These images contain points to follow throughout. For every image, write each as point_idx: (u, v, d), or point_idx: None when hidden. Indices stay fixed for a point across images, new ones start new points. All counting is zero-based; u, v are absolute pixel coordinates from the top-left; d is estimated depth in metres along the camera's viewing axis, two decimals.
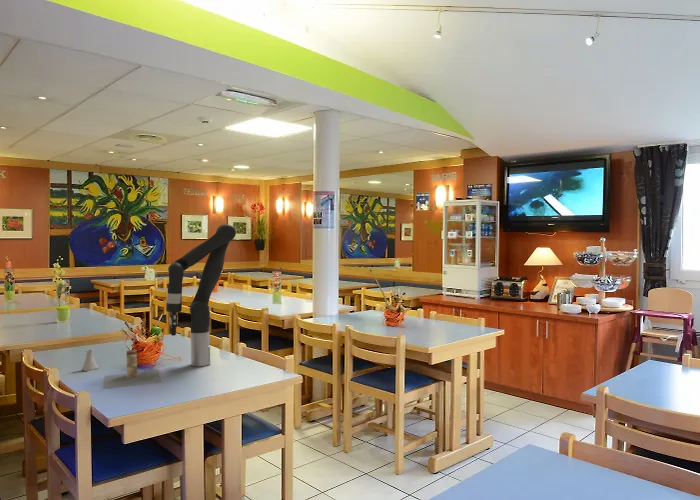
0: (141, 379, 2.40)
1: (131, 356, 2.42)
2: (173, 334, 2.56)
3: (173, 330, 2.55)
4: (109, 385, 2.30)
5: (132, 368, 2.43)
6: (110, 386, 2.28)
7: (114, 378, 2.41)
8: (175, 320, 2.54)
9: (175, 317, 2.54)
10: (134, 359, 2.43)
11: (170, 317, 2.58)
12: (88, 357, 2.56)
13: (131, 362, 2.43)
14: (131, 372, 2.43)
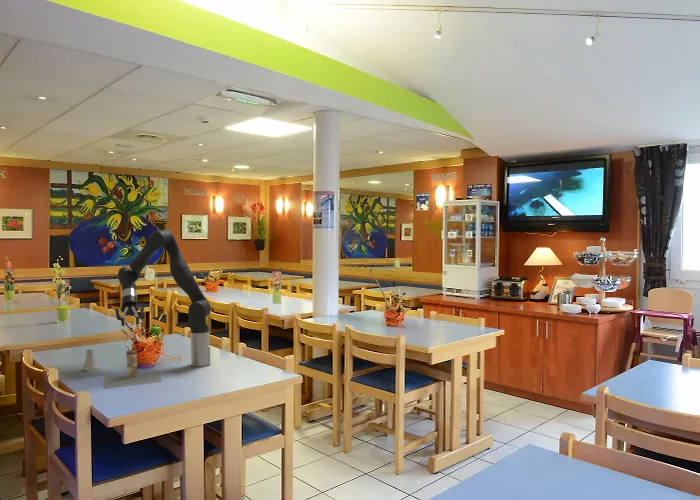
0: (141, 379, 2.40)
1: (131, 356, 2.42)
2: None
3: (121, 321, 2.58)
4: (109, 385, 2.30)
5: (132, 368, 2.43)
6: (110, 386, 2.28)
7: (114, 378, 2.41)
8: (116, 313, 2.60)
9: (115, 311, 2.60)
10: (134, 359, 2.43)
11: None
12: (88, 357, 2.56)
13: (131, 362, 2.43)
14: (131, 372, 2.43)
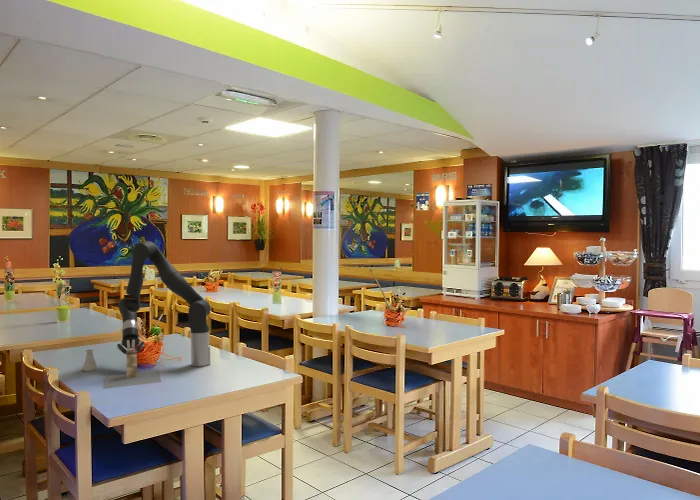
0: (141, 379, 2.40)
1: (131, 356, 2.42)
2: None
3: None
4: (109, 385, 2.30)
5: (132, 368, 2.43)
6: (110, 386, 2.28)
7: (114, 378, 2.41)
8: (120, 348, 2.53)
9: (118, 347, 2.53)
10: (134, 359, 2.43)
11: None
12: (88, 357, 2.56)
13: (131, 362, 2.43)
14: (131, 372, 2.43)
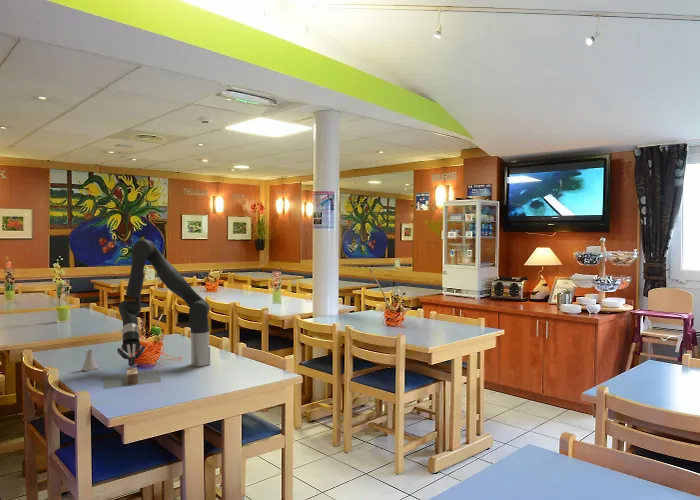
0: (141, 379, 2.40)
1: None
2: None
3: None
4: (109, 385, 2.30)
5: None
6: (110, 386, 2.28)
7: (114, 378, 2.41)
8: (120, 353, 2.44)
9: (118, 351, 2.44)
10: None
11: None
12: (88, 357, 2.56)
13: None
14: None
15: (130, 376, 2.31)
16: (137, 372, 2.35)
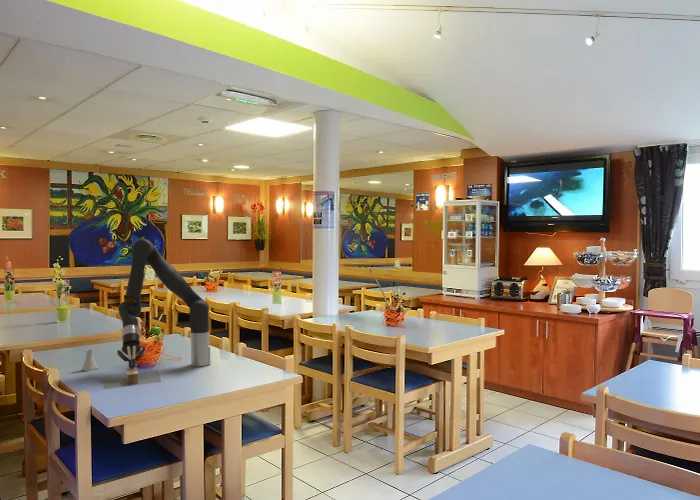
0: (141, 379, 2.40)
1: None
2: (129, 367, 2.37)
3: None
4: (109, 385, 2.30)
5: None
6: (110, 386, 2.28)
7: (114, 378, 2.41)
8: (120, 355, 2.39)
9: (118, 353, 2.40)
10: None
11: None
12: (88, 357, 2.56)
13: None
14: None
15: (130, 376, 2.31)
16: (137, 372, 2.35)
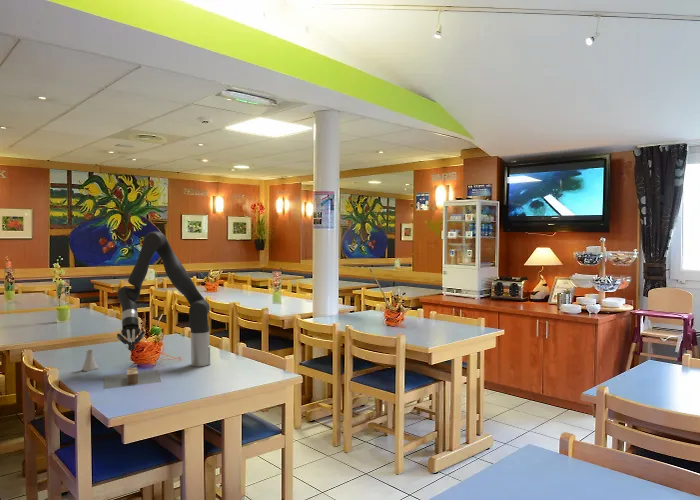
0: (141, 379, 2.40)
1: None
2: None
3: None
4: (109, 385, 2.30)
5: None
6: (110, 386, 2.28)
7: (114, 378, 2.41)
8: (120, 338, 2.46)
9: (118, 336, 2.46)
10: None
11: None
12: (88, 357, 2.56)
13: None
14: None
15: (130, 376, 2.31)
16: (137, 372, 2.35)
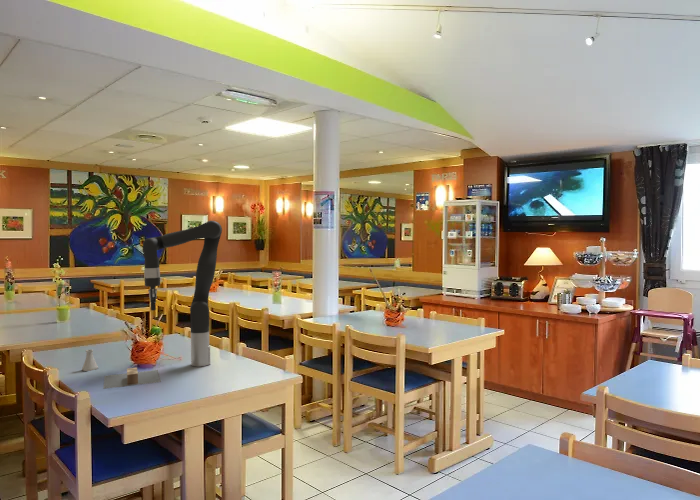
0: (141, 379, 2.40)
1: None
2: (153, 309, 2.63)
3: (152, 305, 2.62)
4: (109, 385, 2.30)
5: None
6: (110, 386, 2.28)
7: (114, 378, 2.41)
8: (154, 297, 2.59)
9: (154, 295, 2.58)
10: None
11: (149, 292, 2.61)
12: (88, 357, 2.56)
13: None
14: None
15: (130, 376, 2.31)
16: (137, 372, 2.35)
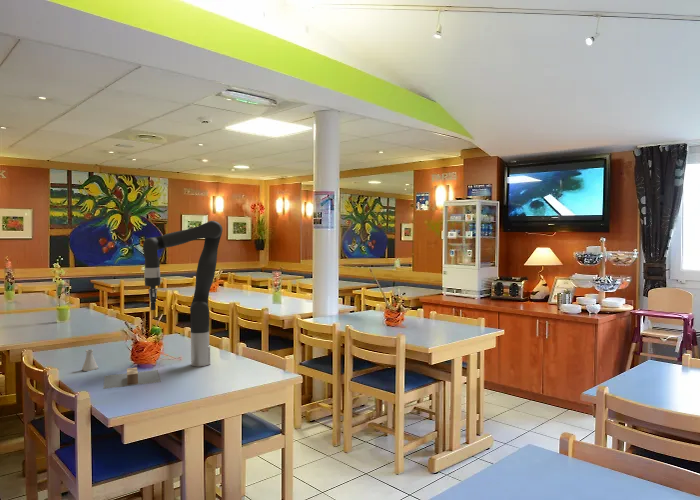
0: (141, 379, 2.40)
1: None
2: (153, 309, 2.63)
3: (152, 305, 2.62)
4: (109, 385, 2.30)
5: None
6: (110, 386, 2.28)
7: (114, 378, 2.41)
8: (154, 297, 2.59)
9: (154, 295, 2.58)
10: None
11: (149, 292, 2.61)
12: (88, 357, 2.56)
13: None
14: None
15: (130, 376, 2.31)
16: (137, 372, 2.35)
